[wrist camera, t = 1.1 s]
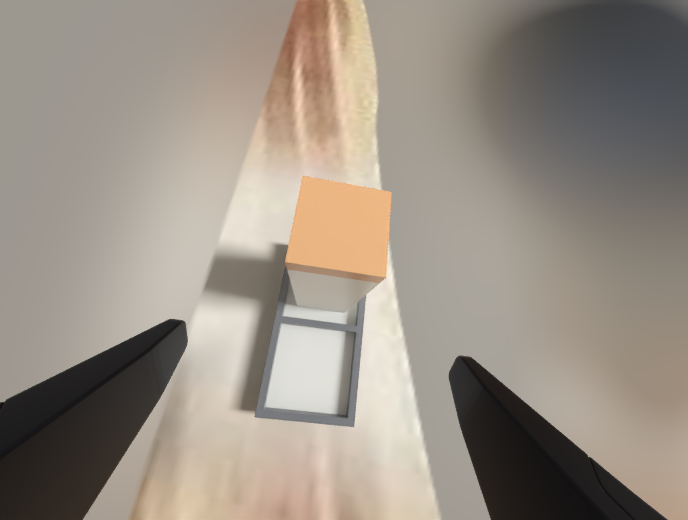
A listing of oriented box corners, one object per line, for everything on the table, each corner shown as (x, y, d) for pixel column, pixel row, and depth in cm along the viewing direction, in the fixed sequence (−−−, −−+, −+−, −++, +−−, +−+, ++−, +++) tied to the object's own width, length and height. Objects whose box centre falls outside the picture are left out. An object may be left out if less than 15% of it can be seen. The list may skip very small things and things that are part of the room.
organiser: (350, 421, 20) (353, 427, 18) (258, 411, 19) (254, 417, 18) (366, 257, 24) (369, 251, 23) (292, 245, 23) (291, 239, 22)
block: (344, 312, 21) (385, 277, 10) (297, 306, 21) (285, 262, 10) (350, 267, 23) (391, 192, 11) (305, 260, 22) (302, 175, 11)
